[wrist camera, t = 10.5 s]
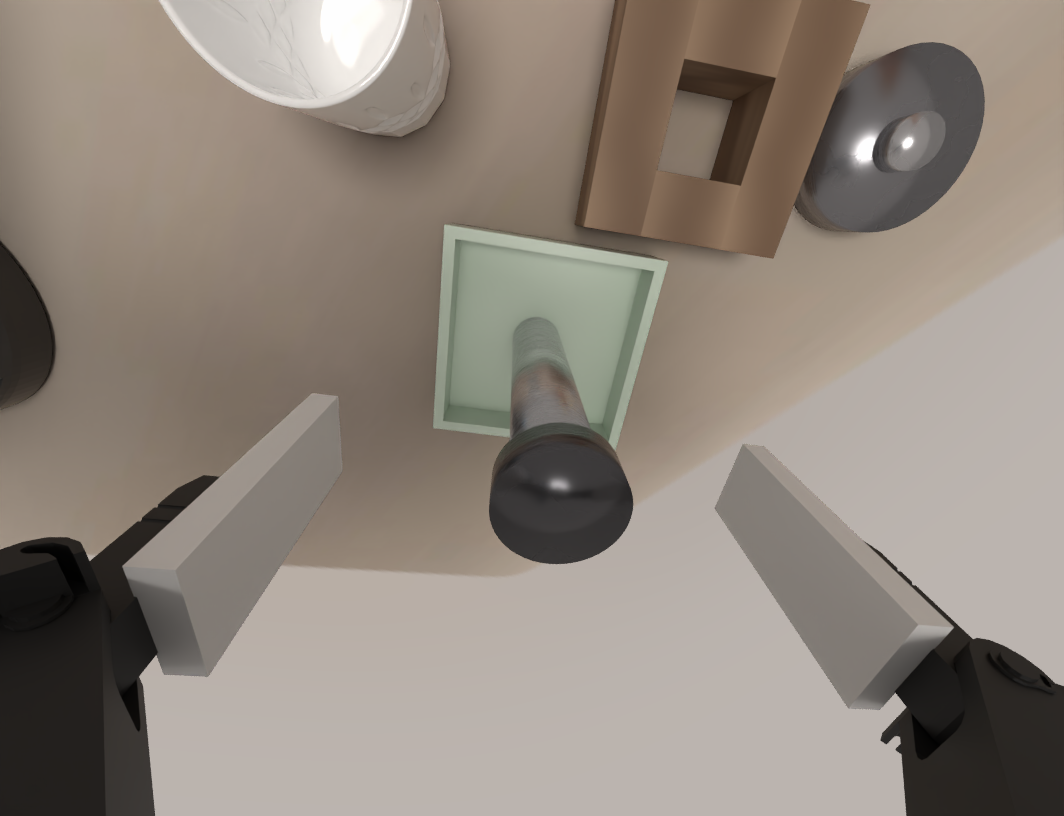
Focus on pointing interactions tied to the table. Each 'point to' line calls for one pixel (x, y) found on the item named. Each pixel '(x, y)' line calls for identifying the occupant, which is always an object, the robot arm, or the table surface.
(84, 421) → the table surface
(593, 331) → the tray
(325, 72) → the white cup
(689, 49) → the block
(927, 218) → the table surface
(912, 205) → the grey pot lid
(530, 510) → the lock pin
